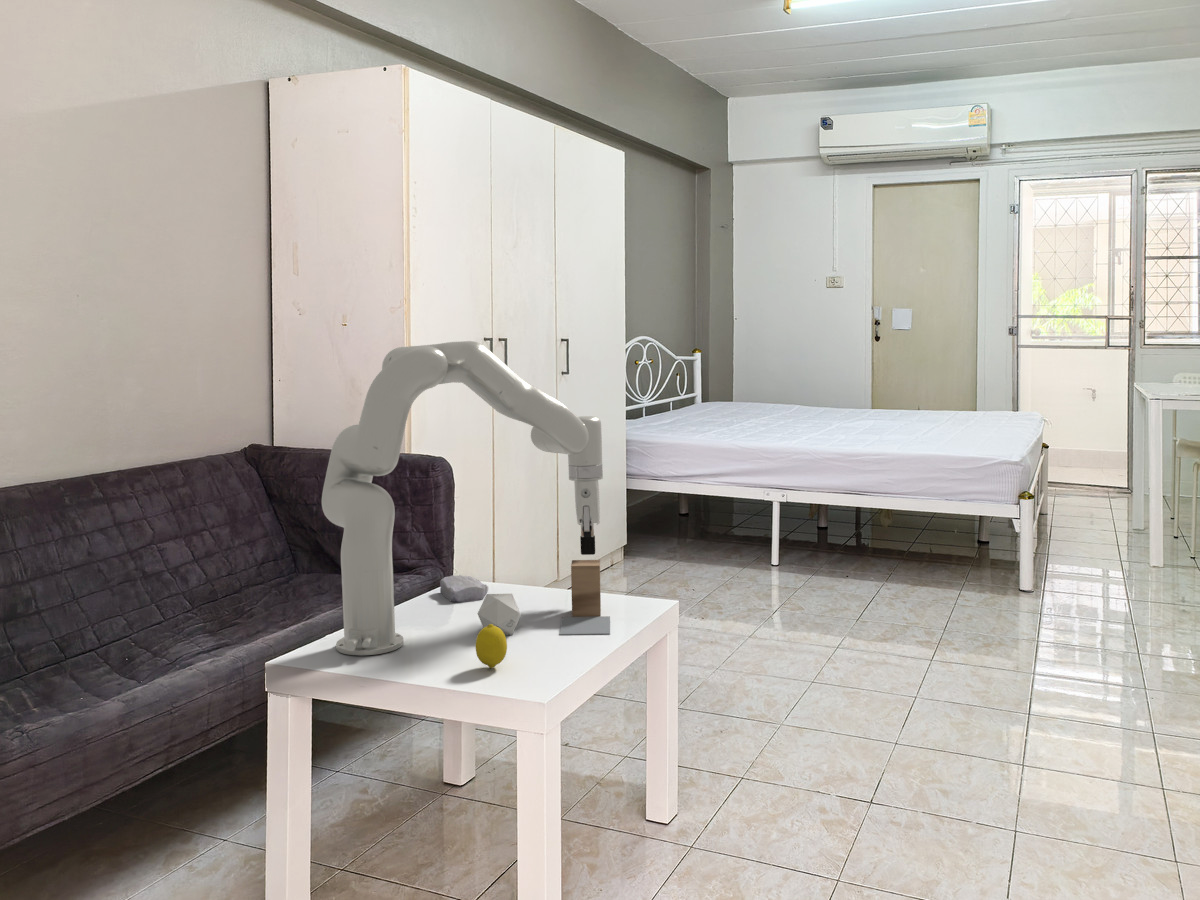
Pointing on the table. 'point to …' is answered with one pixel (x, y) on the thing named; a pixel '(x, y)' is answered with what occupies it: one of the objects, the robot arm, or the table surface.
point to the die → (500, 612)
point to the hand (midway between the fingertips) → (588, 553)
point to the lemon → (491, 645)
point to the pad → (585, 625)
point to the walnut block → (585, 588)
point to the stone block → (462, 588)
